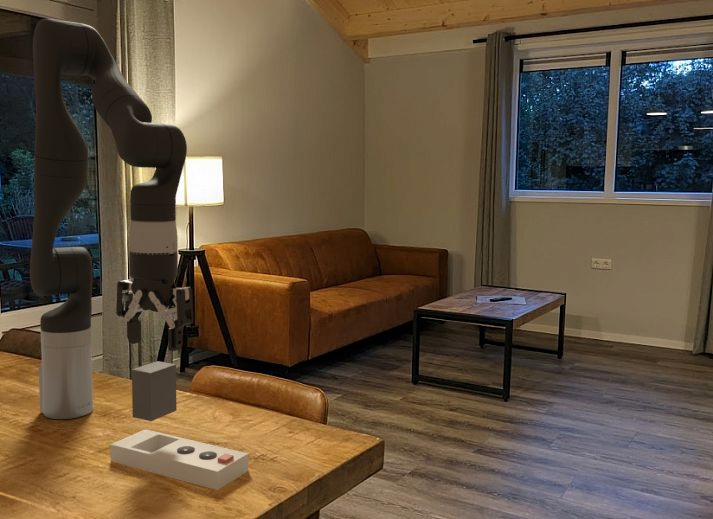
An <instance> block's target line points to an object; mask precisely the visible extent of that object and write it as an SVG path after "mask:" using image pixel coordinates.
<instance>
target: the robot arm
mask: <svg viewBox="0 0 713 519" xmlns="http://www.w3.org/2000/svg"><path fill="white" fill-rule="evenodd" d="M32 57H33V58H32V59H33V61H32V62H33V77H34V89H35V91H34V92H35V137H34V159H33V162H34V164H33V166H34V167H33V178H34V181H33V184H34V187H33V188H34V209H33V210H34V211H33V213H34V215H33V216H34V217H33V227H32V228H33V229H32V238H31V239H32V240H31V250H30V261H29V280H30V285H31V289H32V290H33V292H34V293H35V294H36V296H41V297H42V296H44V297H45V296H46V297H47V296H48V297H49V296H59V295H60V296H61V295H69V297H68V298H67V299H66V301H64V302H62V304H60V305H59V306H57V307H55V308H53V309H51V310H49V311H46V312H45V313H43V314H42V315H41V316H40V326H39V327H40V345H41V346H40V348H41V351H40V352H41V364H40V365H39V366H38V385H39V386H38V388H39V389H38V391H39V392H38V393H39V412H40V413H42V414H43V416H44V417H45V418H48V419H53V420H70V419H76V418H80V417H84V416H86V415H89V414H90V413H92V412H93V411H94V410H93V409H94V399H93V398H94V396H93V394H94V393H93V391H94V390H93V389H94V388H93V360H92V357H93V356H92V355H93V354H92V353H93V352H92V351H93V350H92V309H93V307H92V300H93V298H92V297H93V296H92V295H93V294H92V292H93V291H92V290H93V260H92V257H91V254H90V251H88V249H87V248H86V247H84V246H67V247H62V246H61V247H54V245H55V240H56V236H57V233H58V231H59V228H60V226H61V224H62V222H63V220H64V219H65V217H66V216H67V214H68V213H69V211H71V209H72V208H73V206H74V205H75V203H76V202H77V200H79V198H80V197H81V195H82V194H83V192H84V190H85V188H86V186H87V182H88V172H89V171H88V169H89V167H88V166H89V165H88V164H89V149H88V145H87V143H86V140H85V138H84V137H83V135H82V133H81V131H80V129H79V127H78V126H77V124H76V122H75V121H74V119H73V118H72V116H71V115H70V112H69V111H68V109H67V108H68V107H67V106H66V103H65V100H64V96H63V91H62V81H61V79H62V77H61V75H67V76H68V75H69V76H80V77H82V76H86V77H87V76H88V77H89V78H91V79H92V80H93V81H94V84H93V86H92V92H91V98H92V99H91V100H92V104H93V106H94V108H95V110H96V113H97V114H98V115H99V116H100V117H101V119H102V120H103V121H104V123H105V124H106V125H107V126H108V127H109V129H110V130H111V133H112V137H113V139H114V143H115V145H116V150H117V153H118V156H119V158H120V159H121V160H122V161H123V162H124V163H126V164H127V165H129V166H130V167H134V168H143V169H145V168H146V169H147V168H151V169H152V168H153V169H155V170H154V173H153V176H152V177H151V179H149V180H148V181H145V182H140V183H136V184H134V185H133V186H132V187H131V189H130V196H129V198H130V203H129V204H130V206H129V207H130V209H129V210H130V214H129V215H130V221H129V222H130V223H129V224H130V226H129V231H128V236H129V237H128V248H129V250H128V251H129V255H128V256H129V257H128V260H129V262H128V264H129V265H128V266H129V278H131V279H126V280H118V282H117V283H116V310H115V311H116V312H115V313H116V316H117V317H122V318H123V319H124V321H126V338H127V340H128V344H132V345H135V344H137V343H138V344H139V343H141V341H142V324H141V323H142V321H141V319H140V318H141V317H142V316H143V313H145V311H151V312H154V313H159V315H160V316H161V318H164V320H165V322H166V324H167V325H168V327H169V328H168V329H167V338H168V339H167V340H168V341H167V347H168V351H169V352H176V351H179V350H180V349H181V348H182V346H183V328H184V326H187V325H191V324H193V323H194V304H193V303H194V302H193V289H192V287H190V286H186V287H177V286H176V279H177V276H178V274H179V273H178V271H179V268H178V267H179V266H178V265H179V264H178V263H179V262H178V261H179V258H178V256H179V255H178V247H179V246H178V242H179V241H178V238H179V237H178V230H177V229H178V228H177V221H176V220H177V212H176V211H177V209H176V208H177V207H176V206H177V205H176V204H177V192H178V188H179V185H180V180H181V176H182V173H183V169H184V167H185V162H186V158H187V153H188V145H187V140H186V137H185V135H184V133H183V132H182V130H181V129H180V128H179V127H178V126H176V125H174V124H170V123H169V124H168V123H156V122H153V115H152V111H151V110H150V107H149V106H148V105H147V104H146V103H145V101H144V100H143V99H142V98H141V97H140V96H139V95H138V94H137V92H136V90H134V89H133V88H132V87H131V86H130V84H129V83H128V82H127V80H126V79H125V76H124V75H123V73H122V72H121V69H120V68H119V66H118V64H117V62H116V60H115V58H114V57H113V54H112V53H111V51H110V49H109V47H108V45H107V44H106V41H105V40H104V38H103V37H102V35H101V34H100V33H99V31H97V29H95V28H94V27H93V26H91V25H89V24H85V23H81V22H73V21H67V20H60V19H55V18H42V19H40V20H39V21H38V22H37V24H36V25H35V28H34V33H33V37H32Z"/></svg>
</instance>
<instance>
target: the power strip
mask: <svg viewBox="0 0 713 519" xmlns="http://www.w3.org/2000/svg"><path fill="white" fill-rule="evenodd" d="M110 462H112V463H116V464H119V465H123V466H127V467H129V468H130V467H131V468H134V469H138V470H141V471H146V472H149V473H152V474H156V475H160V476H164V477H167V478H171V479H176V480H179V481H183V482H187V483H189V484H193V485H197V486H201V487H205V488H208V489H211V490H216V491H219V490H220V489H222V488H224V487H225V486H227V485H229V484H230V483H232V482H233V481H234V480H237V479H238V478H239V477H241V476H242V475H244V474H245V473H247V472H249V453H248V452H243V451H239V450H237V449H236V450H235V449H231V448H226V447H223V446H219V445H213V444H209V443H206V442H201V441H197V440H192V439H188V438H184V437H180V436H175V435H171V434H167V433H164V432H163V433H162V432H158V431H153V430H149V429H143V430H141V431H138V432H135V433H133V434H131V435H129V436H127V437H124V438H123V439H120V440H117V441H115V442H113V443H111V444H110Z"/></svg>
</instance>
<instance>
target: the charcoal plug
mask: <svg viewBox="0 0 713 519" xmlns="http://www.w3.org/2000/svg"><path fill="white" fill-rule="evenodd" d="M131 396H132V397H131V399H132V418H135V419H140V420H145V421H148V422H154V421H156V420H157V419H160V418H163V417H165V416H167V415H169V414H173V413H175V412H176V411H177V410H178V409H177V364H176V363H171V362H164V361H158V360H157V361H154V362H151V363H148V364H145V365H141V366H138V367H135V368H132V369H131Z"/></svg>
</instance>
